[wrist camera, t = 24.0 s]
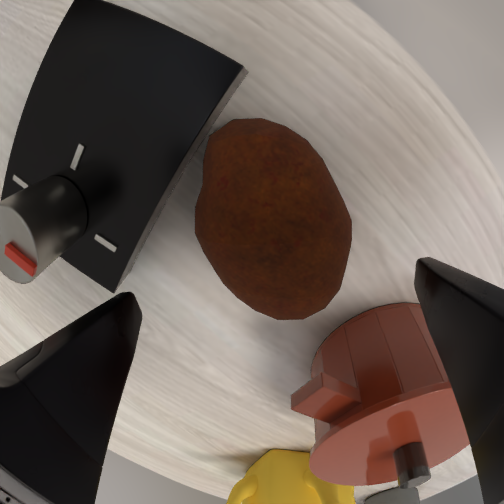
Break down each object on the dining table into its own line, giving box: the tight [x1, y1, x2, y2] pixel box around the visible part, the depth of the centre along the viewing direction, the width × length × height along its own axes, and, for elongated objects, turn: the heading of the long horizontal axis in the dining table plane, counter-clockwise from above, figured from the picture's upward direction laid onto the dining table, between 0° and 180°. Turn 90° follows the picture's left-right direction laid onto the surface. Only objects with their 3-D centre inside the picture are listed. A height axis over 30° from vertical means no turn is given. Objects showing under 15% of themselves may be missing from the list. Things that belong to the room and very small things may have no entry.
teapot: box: [226, 449, 356, 504], centre depth 26 cm, size 15×14×10 cm
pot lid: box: [309, 381, 470, 489], centre depth 14 cm, size 12×12×4 cm
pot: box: [291, 303, 449, 442], centre depth 18 cm, size 11×17×7 cm
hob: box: [1, 0, 248, 293], centre depth 14 cm, size 15×10×3 cm, turn 146°
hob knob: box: [0, 176, 87, 284], centre depth 13 cm, size 4×4×5 cm
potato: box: [195, 118, 352, 320], centre depth 14 cm, size 7×9×6 cm
